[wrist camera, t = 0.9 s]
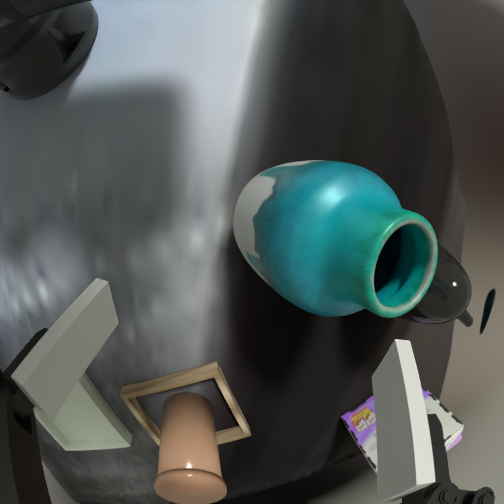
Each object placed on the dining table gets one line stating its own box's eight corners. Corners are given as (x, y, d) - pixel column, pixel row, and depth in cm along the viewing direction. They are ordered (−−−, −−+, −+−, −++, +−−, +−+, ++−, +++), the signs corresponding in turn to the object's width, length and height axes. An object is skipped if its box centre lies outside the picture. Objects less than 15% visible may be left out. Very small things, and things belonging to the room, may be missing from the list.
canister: (151, 397, 33) (140, 480, 20) (203, 384, 34) (210, 470, 20) (175, 431, 35) (175, 507, 22) (223, 420, 36) (236, 498, 22)
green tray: (20, 379, 29) (14, 388, 27) (82, 367, 30) (76, 378, 28) (69, 440, 33) (65, 450, 30) (132, 435, 34) (130, 446, 32)
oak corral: (122, 386, 32) (119, 395, 30) (216, 361, 33) (218, 370, 31) (167, 445, 36) (166, 454, 34) (249, 426, 37) (251, 435, 35)
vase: (237, 277, 31) (326, 396, 13) (209, 179, 27) (287, 179, 10) (323, 247, 33) (458, 312, 15) (305, 156, 29) (457, 145, 12)
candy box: (348, 430, 41) (389, 495, 26) (339, 415, 40) (384, 486, 24) (410, 387, 42) (463, 440, 26) (406, 368, 40) (465, 424, 24)
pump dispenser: (375, 312, 36) (448, 369, 21) (328, 267, 33) (408, 323, 18) (418, 254, 35) (501, 288, 21) (378, 203, 32) (474, 220, 18)
